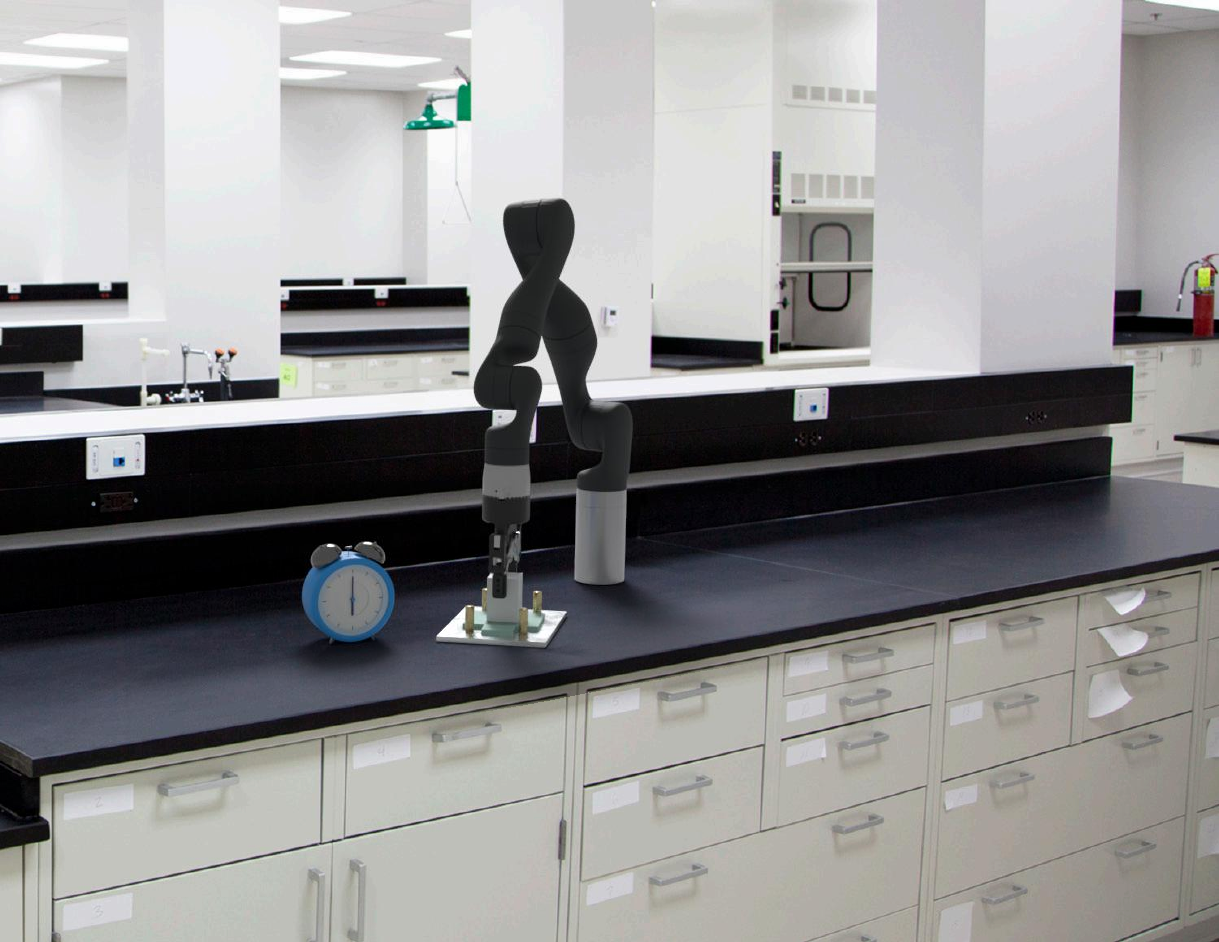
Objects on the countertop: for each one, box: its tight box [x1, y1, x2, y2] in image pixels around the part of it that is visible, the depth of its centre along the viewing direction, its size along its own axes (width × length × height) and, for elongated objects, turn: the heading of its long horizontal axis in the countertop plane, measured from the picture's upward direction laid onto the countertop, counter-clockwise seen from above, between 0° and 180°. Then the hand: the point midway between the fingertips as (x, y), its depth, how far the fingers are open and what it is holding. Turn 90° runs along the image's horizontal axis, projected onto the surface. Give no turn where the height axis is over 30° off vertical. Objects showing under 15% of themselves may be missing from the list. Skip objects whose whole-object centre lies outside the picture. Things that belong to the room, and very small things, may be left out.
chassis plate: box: [435, 587, 568, 649], centre depth 240 cm, size 21×17×5 cm
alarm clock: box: [301, 541, 396, 645], centre depth 230 cm, size 13×6×15 cm, turn 116°
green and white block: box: [462, 572, 545, 636], centre depth 240 cm, size 16×12×8 cm
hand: (504, 592), depth 240 cm, fingers open, 8 cm apart
